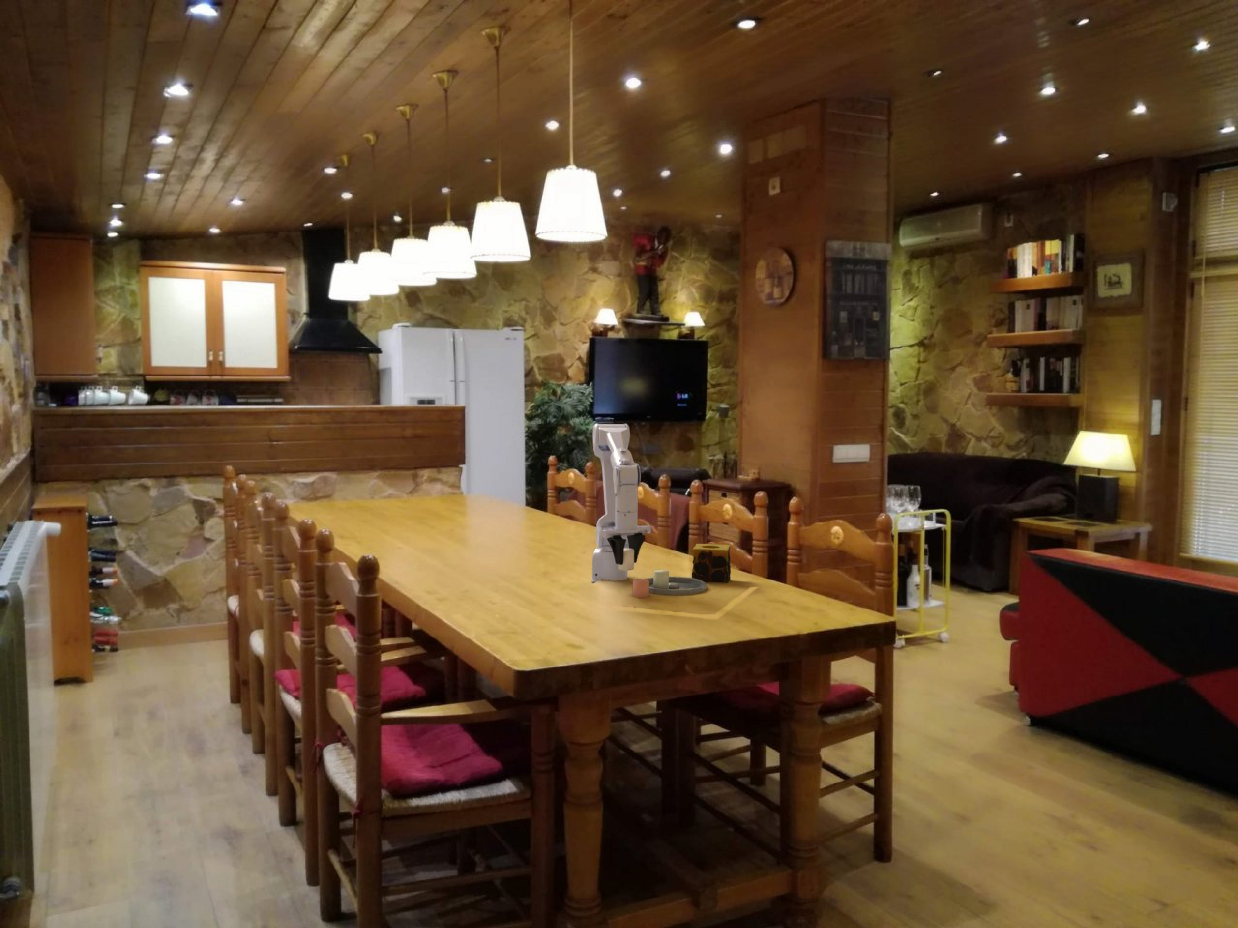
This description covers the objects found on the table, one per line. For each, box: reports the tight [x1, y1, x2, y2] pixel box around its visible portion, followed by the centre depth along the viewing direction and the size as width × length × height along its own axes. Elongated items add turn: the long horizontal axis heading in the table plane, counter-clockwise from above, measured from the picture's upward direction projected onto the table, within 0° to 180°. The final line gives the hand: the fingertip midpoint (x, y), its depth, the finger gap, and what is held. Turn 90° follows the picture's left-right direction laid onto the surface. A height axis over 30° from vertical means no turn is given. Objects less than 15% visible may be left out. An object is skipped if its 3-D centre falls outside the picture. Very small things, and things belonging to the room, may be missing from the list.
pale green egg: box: [652, 569, 670, 589], centre depth 246 cm, size 4×4×5 cm
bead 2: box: [632, 578, 650, 599], centre depth 239 cm, size 4×4×5 cm
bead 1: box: [618, 549, 635, 571], centre depth 246 cm, size 4×4×5 cm
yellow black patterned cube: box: [691, 543, 732, 584], centre depth 262 cm, size 10×10×10 cm
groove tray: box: [645, 576, 708, 596], centre depth 250 cm, size 18×18×2 cm
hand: (626, 563), depth 246 cm, fingers closed on bead 1, 4 cm apart
